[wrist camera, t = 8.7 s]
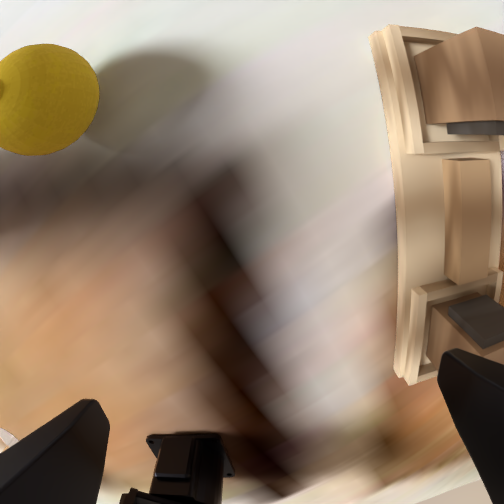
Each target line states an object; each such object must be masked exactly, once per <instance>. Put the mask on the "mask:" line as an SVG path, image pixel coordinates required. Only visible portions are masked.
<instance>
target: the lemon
mask: <svg viewBox="0 0 504 504" xmlns="http://www.w3.org/2000/svg"><path fill="white" fill-rule="evenodd" d="M98 102H99V84H98V81H97V77H96V74H95V72H94V71H93V69H92V67H91V66H90V64H89V63H88V62H87V61H86V60H85V59H84V58H83V57H82V56H80V55H79V54H78V53H76V52H75V51H73V50H71V49H69V48H65V47H62V46H59V45H54V44H37V45H29V46H25V47H23V48H20V49H18V50H16V51H14V52H12V53H10V54H9V55H8V56H6V57H5V58H4V59H3V60H1V61H0V147H1V148H3V149H5V150H8V151H11V152H14V153H17V154H20V155H27V156H33V155H47V154H50V153H53V152H56V151H59V150H62V149H64V148H66V147H67V146H69V145H70V144H72V143H73V142H75V141H76V140H78V139H79V138H80V136H81V135H82V134H83V133H84V132H85V131H86V130H87V129H88V127H89V125H90V124H91V122H92V121H93V119H94V116H95V114H96V111H97V108H98Z"/></svg>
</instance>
